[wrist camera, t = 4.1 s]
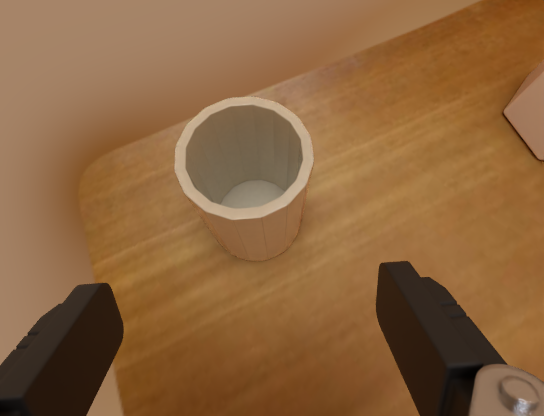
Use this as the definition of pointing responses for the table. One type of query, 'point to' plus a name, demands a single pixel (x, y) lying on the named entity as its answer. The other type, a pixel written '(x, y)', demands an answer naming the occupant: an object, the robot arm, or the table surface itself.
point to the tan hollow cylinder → (247, 174)
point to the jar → (529, 111)
